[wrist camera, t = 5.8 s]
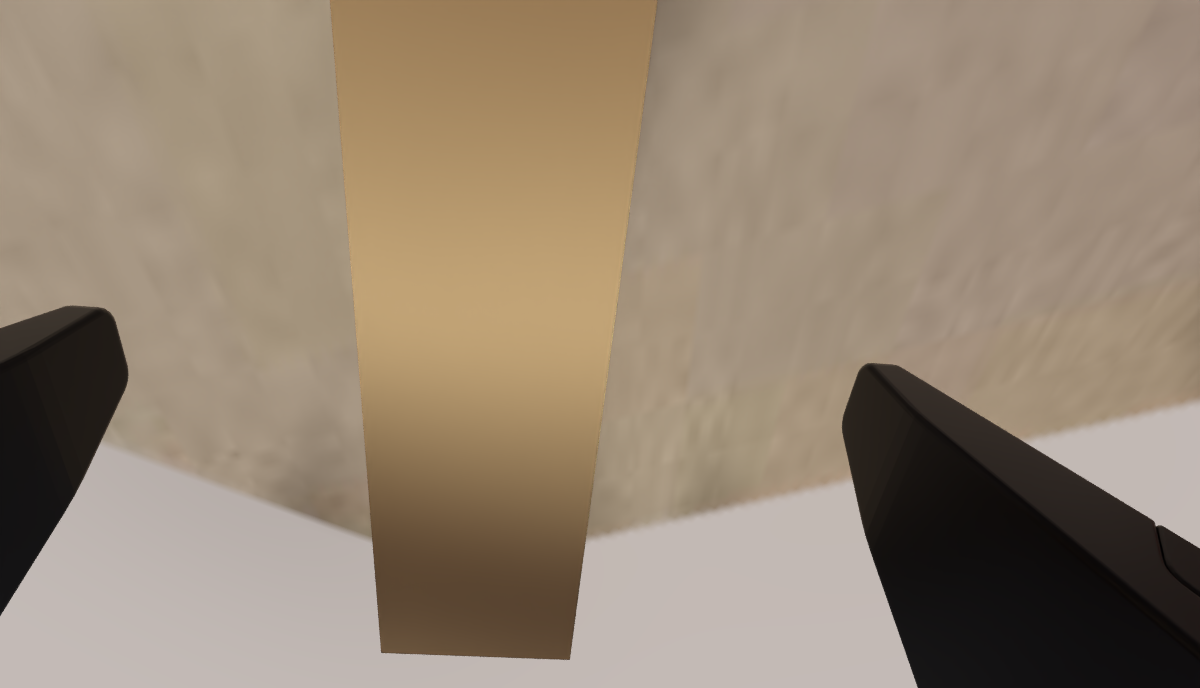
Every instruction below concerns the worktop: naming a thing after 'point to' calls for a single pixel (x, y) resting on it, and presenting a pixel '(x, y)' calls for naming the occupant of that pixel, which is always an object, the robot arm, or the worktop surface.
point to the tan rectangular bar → (485, 298)
